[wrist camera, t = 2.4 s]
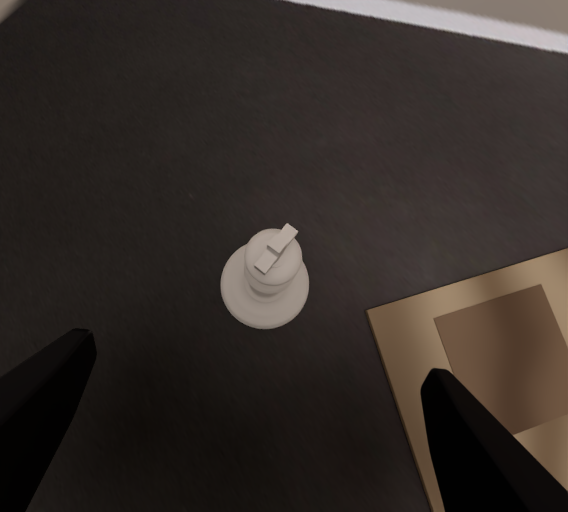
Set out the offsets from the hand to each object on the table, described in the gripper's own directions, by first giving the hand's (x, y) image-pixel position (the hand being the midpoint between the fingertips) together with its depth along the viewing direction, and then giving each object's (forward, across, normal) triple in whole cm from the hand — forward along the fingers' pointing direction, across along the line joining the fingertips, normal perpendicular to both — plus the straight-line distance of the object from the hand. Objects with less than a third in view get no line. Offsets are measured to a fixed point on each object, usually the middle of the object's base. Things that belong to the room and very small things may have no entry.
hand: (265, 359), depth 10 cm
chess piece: (+10, 0, +5) cm, 11 cm away
